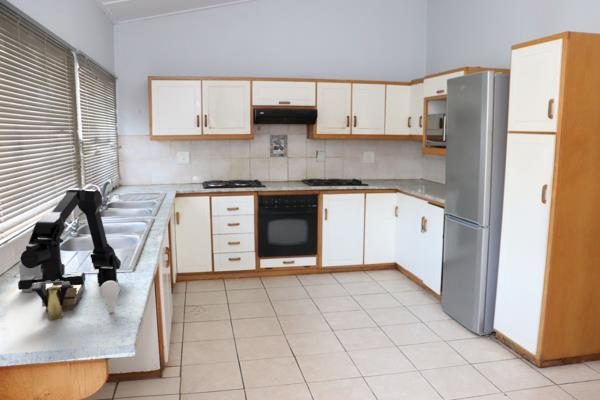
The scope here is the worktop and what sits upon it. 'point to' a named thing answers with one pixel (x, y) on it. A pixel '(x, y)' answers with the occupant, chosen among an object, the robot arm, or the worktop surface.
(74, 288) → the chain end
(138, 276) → the worktop surface
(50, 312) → the brass pin
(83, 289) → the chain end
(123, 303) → the worktop surface
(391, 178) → the worktop surface
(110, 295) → the lightbulb
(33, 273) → the can
